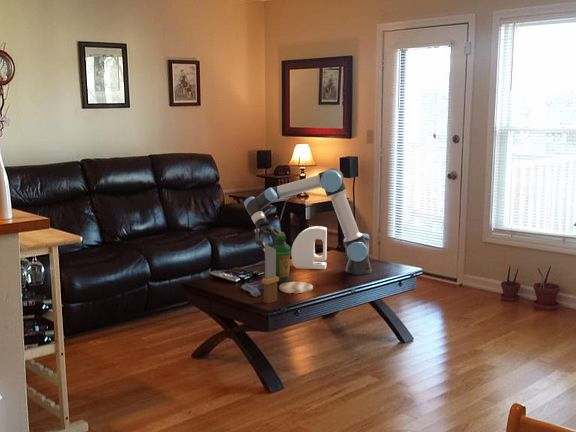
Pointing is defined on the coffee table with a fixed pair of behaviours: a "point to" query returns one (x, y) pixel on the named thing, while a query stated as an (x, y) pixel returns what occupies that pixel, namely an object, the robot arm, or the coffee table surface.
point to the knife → (270, 275)
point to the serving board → (296, 287)
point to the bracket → (309, 248)
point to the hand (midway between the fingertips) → (277, 251)
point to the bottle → (282, 258)
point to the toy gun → (254, 287)
